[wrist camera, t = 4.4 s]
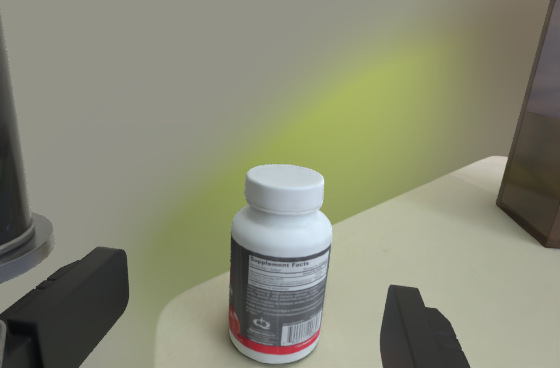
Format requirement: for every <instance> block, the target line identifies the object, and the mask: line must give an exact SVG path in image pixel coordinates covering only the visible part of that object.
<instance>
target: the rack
mask: <svg viewBox="0 0 560 368" xmlns="http://www.w3.org/2000/svg"><path fill="white" fill-rule="evenodd" d="M496 205H498V206H499V207H500V208H501V209H502V210H503V211H505V212H506V213H507V214H508V215H509V216H510V217H511V218H513V219H514V220H515V221H516V222H517V223H518V224H519V225H521V226H522V227H523V228H524V229H525V230H526V231H527V232H529V233H530V234H531V235H532V236H533V237H534V238H535V239H537V240H538V241H539V242H540V243H541V244H542V245H544V246H545V247H550V248H559V249H560V0H550V3H549V7H548V10H547V14H546V18H545V22H544V26H543V29H542V33H541V37H540V40H539V44H538V48H537V52H536V55H535V59H534V63H533V67H532V71H531V74H530V78H529V82H528V85H527V89H526V93H525V97H524V100H523V104H522V108H521V112H520V116H519V119H518V123H517V127H516V130H515V134H514V138H513V142H512V145H511V149H510V153H509V157H508V160H507V164H506V168H505V171H504V175H503V179H502V183H501V186H500V190H499V194H498V198H497V201H496Z"/></svg>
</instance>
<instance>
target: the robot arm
mask: <svg viewBox="0 0 560 368" xmlns="http://www.w3.org/2000/svg"><path fill="white" fill-rule="evenodd" d="M34 231H35V225H34V219H33V217H32V215H31V208H30V201H29V195H28V188H27V180H26V173H25V167H24V160H23V153H22V147H21V140H20V134H19V127H18V120H17V115H16V107H15V101H14V95H13V87H12V81H11V74H10V68H9V61H8V54H7V50H6V43H5V36H4V29H3V23H2V17H1V9H0V255H3V254H5V253H7V252H9V251H12V250H14V249H15V248H17V247H19V246H21V245H22V244H24V243H25V242H26V241H28V240H29V239H30V238H31V237H32V235H33V234H34ZM128 299H129V283H128V268H127V256H126V253H125V251H124V250H122V249H114V248H107V247H97V248H95V249H94V250H93V251H91V252H90V253H89V254H87V255H86V256H85V257H84V258H82V259H81V260H77V261H75V262H73V263H71V264H68V265H66V266H64V267H62V268H60V269H59V270H57V271H56V272H55V273H53V274H52V275H51V276H49V277H48V278H47V280H45V281H43V282H42V283H40V284H39V285H38V286H36V289H33V290H31V291H30V292H29V293H27V294H26V295H25V296H23V297H22V298H21V299H19V300H18V301H17V302H15V303H14V304H13V305H12V306H10V307H9V308H8V309H6V310H5V311H4V312H3V313H1V314H0V368H79V366H80V365H81V364H82V363H83V362H84V360H85V359H86V358H87V357H88V355H89V354H90V353H91V352H92V351H93V349H94V348H95V347H96V346H97V344H98V343H99V342H100V341H101V340H102V338H103V337H104V336H105V335H106V334H107V332H108V331H109V330H110V329H111V328H112V326H113V325H114V324H115V323H116V321H117V320H118V319H119V318H120V316H121V315H122V314H123V313H124V311H125V309H126V306H127V304H128ZM380 352H381V358H382V364H383V368H470V365H469V363H468V361H467V359H466V357H465V354H464V352H463V351H462V348H461V346H460V343H459V341H458V339H456V334H455V332H454V330H453V328H452V326H451V323H450V322H449V321H448V320H447V319H446V318H445V317H444V316H443V315H442V314H441V313H440V312H439V311H438V310H437V309H436V308H429V307H425V305H424V302H423V300H422V297H421V295H420V292H419V290H418V288H414V287H406V286H398V285H390V286H389V289H388V294H387V299H386V304H385V310H384V315H383V321H382V326H381V333H380Z"/></svg>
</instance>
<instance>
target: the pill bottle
mask: <svg viewBox="0 0 560 368" xmlns="http://www.w3.org/2000/svg"><path fill="white" fill-rule="evenodd" d="M323 189H324V178H323V176H322V175H321V174H319V173H318V172H316V171H314V170H311V169H308V168H305V167H300V166H294V165H285V164H270V165H261V166H257V167H254V168H252V169H250V170H249V171H248V172H247V174H246V182H245V192H244V193H245V197H246V201H247V203H248V204H249V205H247V206H245V207H243V208H242V209H241V210H239V212H238V213H237V214H236V215H235V217H234V219H233V222H232V227H231V260H230V262H231V268H230V287H229V288H230V292H229V334H230V337H231V339H232V342H233V343H234V345H235V346H236V347H237V349H238V350H239V351H240V352H242V353H243V354H244V355H246V356H248V357H250V358H252V359H254V360H256V361H259V362H263V363H271V364H283V363H289V362H293V361H296V360H299V359H301V358H303V357H305V356H306V355H308V354H309V353H310V352H311V351H312V350H313V349H314V348H315V346H316V344H317V343H318V340H319V336H320V331H321V324H322V315H323V305H324V297H325V290H326V281H327V274H328V268H329V259H330V250H331V242H332V226H331V223H330V221H329V220H328V218H327V217H326V216H325V215H324V214H323V213H322V212H320V211H319V209H320V208H321V206H322V201H323Z"/></svg>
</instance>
